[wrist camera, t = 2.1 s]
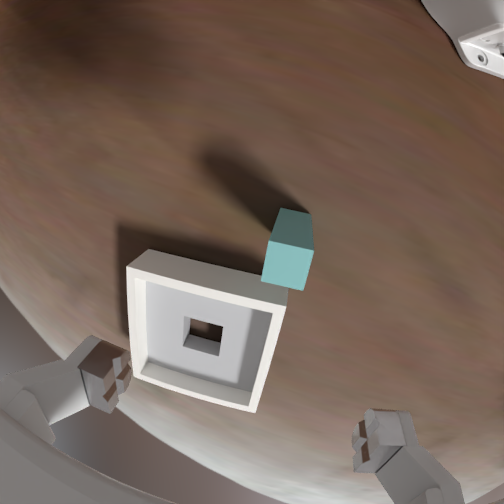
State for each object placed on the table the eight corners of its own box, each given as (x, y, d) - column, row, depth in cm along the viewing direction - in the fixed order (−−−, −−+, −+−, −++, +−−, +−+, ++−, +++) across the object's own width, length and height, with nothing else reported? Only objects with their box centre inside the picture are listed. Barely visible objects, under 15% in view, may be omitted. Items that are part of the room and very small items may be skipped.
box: (289, 282, 32) (286, 306, 27) (261, 385, 38) (255, 413, 33) (148, 248, 33) (126, 266, 28) (149, 353, 39) (133, 376, 34)
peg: (311, 214, 29) (314, 250, 19) (304, 243, 30) (303, 290, 21) (280, 207, 29) (269, 240, 20) (274, 236, 30) (260, 281, 21)
